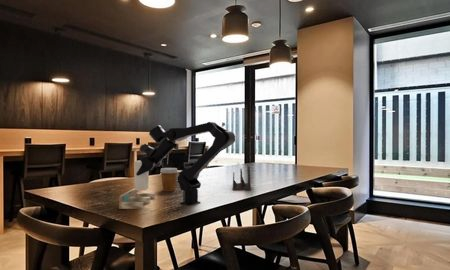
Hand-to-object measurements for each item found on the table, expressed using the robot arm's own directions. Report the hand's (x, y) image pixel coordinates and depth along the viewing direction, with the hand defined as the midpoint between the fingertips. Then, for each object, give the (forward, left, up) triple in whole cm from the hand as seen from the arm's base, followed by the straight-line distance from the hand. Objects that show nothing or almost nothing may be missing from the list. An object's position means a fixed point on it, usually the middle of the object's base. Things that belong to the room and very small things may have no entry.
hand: (138, 174), depth 134 cm
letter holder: (-8, -61, -12) cm, 63 cm away
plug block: (-1, -1, -7) cm, 7 cm away
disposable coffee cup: (+13, -25, -12) cm, 31 cm away
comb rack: (-5, +3, -12) cm, 13 cm away
